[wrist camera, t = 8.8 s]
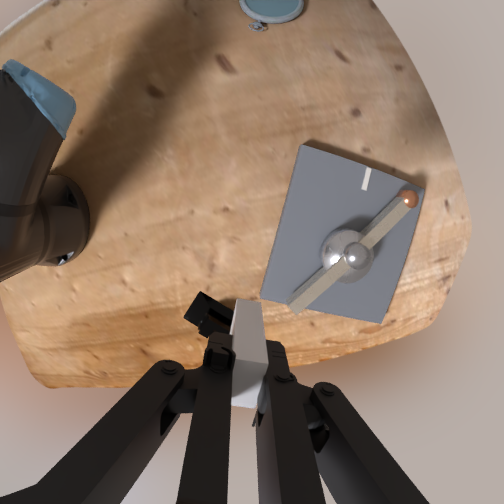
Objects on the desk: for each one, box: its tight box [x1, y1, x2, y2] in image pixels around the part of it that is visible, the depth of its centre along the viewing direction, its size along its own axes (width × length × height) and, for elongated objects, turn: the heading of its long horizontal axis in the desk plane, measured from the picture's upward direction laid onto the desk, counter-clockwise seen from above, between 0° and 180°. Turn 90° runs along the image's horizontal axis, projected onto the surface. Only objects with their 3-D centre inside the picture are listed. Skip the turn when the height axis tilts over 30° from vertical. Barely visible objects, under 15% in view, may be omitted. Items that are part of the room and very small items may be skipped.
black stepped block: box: [184, 291, 234, 338], centre depth 43 cm, size 12×7×5 cm, turn 56°
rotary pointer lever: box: [286, 190, 419, 315], centre depth 37 cm, size 7×23×5 cm, turn 133°
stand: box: [260, 144, 425, 324], centre depth 41 cm, size 20×22×2 cm
